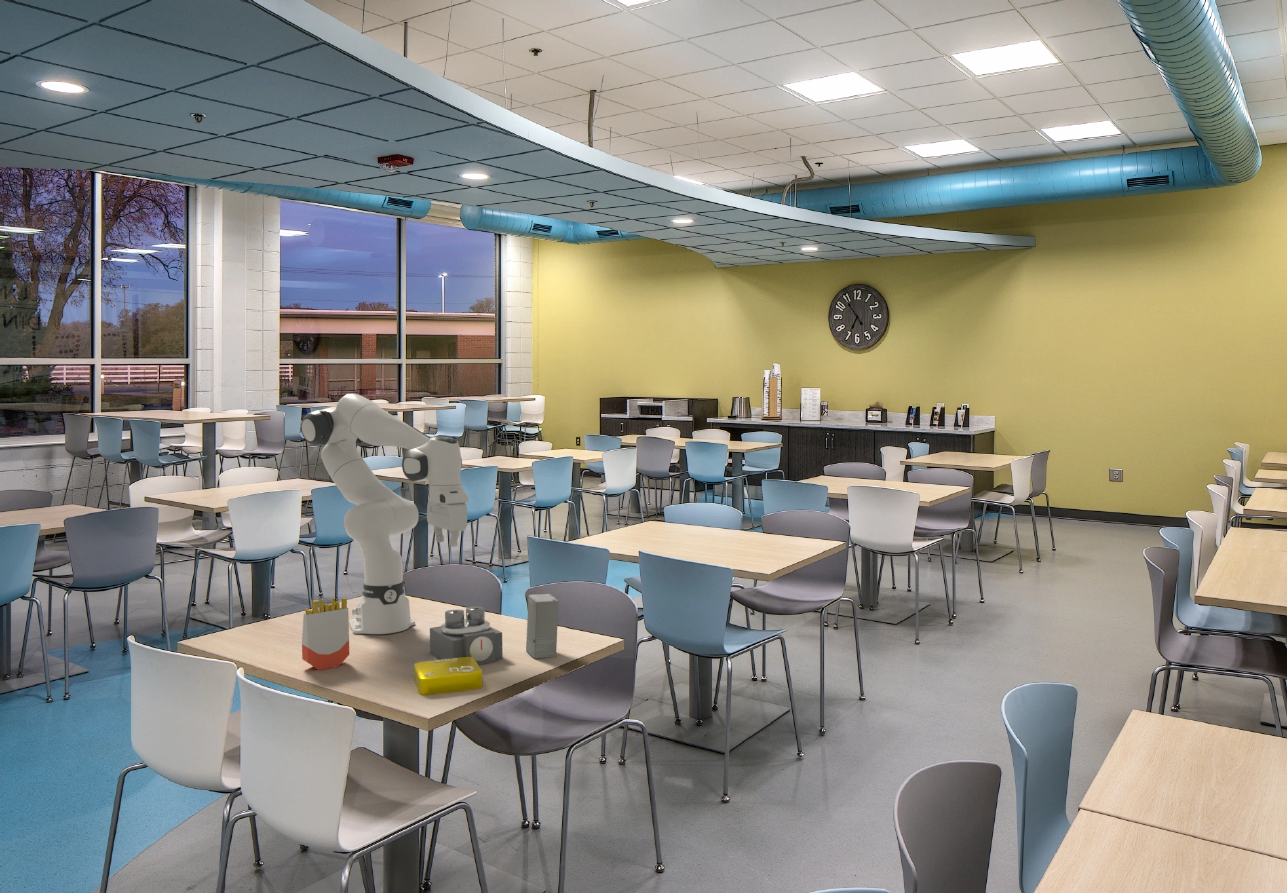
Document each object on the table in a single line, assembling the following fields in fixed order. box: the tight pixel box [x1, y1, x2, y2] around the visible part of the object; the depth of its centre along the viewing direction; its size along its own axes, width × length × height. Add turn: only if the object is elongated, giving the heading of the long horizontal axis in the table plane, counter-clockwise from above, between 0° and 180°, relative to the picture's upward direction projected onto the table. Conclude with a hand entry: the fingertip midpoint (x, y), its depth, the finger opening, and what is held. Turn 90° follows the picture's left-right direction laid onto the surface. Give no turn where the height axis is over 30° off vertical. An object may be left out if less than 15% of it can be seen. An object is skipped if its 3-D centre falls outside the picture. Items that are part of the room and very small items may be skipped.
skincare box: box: [525, 593, 559, 660], centre depth 242 cm, size 8×7×16 cm
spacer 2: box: [465, 606, 486, 625], centre depth 242 cm, size 5×5×4 cm
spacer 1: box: [444, 609, 465, 629], centre depth 239 cm, size 5×5×4 cm
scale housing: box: [429, 625, 504, 666], centre depth 240 cm, size 18×14×8 cm
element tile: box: [413, 657, 484, 696], centre depth 218 cm, size 15×15×5 cm
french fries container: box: [301, 597, 350, 671], centre depth 232 cm, size 5×11×18 cm, turn 130°
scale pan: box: [440, 618, 491, 636], centre depth 241 cm, size 13×13×1 cm
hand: (446, 543), depth 248 cm, fingers open, 8 cm apart
